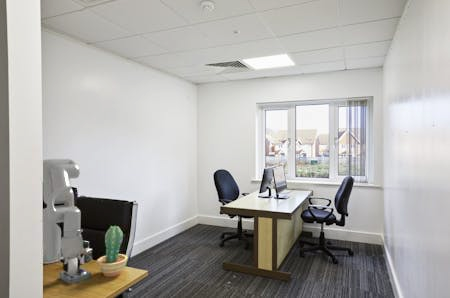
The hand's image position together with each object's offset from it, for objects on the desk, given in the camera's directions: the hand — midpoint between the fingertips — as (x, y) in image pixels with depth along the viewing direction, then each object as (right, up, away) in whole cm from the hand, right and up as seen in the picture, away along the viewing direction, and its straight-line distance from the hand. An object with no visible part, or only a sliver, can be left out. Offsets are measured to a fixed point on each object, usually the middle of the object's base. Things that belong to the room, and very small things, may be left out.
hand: (71, 268), depth 148 cm
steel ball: (+7, -4, -1) cm, 8 cm away
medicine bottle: (-5, -5, +21) cm, 23 cm away
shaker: (0, -3, 0) cm, 3 cm away
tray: (+2, -5, -1) cm, 5 cm away
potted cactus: (+19, -5, +6) cm, 20 cm away
